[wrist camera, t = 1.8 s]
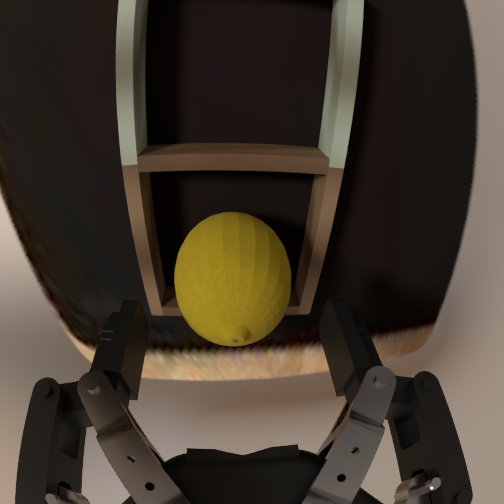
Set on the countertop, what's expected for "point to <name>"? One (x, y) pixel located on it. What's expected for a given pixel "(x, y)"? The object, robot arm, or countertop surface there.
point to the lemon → (232, 279)
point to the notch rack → (235, 152)
